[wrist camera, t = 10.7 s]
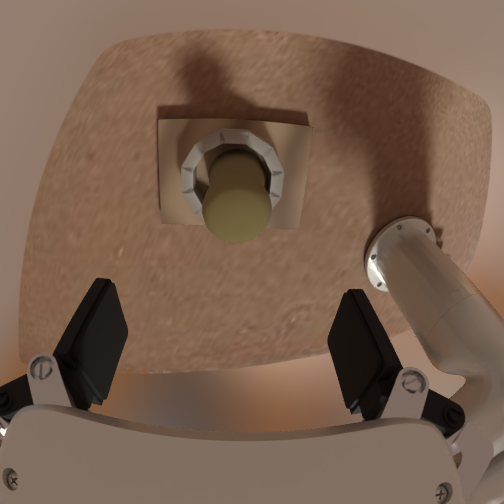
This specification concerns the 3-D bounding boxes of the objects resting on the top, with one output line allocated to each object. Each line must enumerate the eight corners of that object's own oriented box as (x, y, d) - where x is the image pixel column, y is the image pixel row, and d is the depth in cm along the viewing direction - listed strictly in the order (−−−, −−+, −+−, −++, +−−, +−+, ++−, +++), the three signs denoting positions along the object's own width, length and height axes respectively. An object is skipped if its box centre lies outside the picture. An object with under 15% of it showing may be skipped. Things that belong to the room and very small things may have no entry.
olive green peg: (204, 197, 29) (187, 247, 20) (215, 143, 26) (201, 167, 17) (257, 207, 30) (267, 262, 21) (272, 156, 27) (291, 187, 18)
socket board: (309, 125, 27) (320, 129, 23) (296, 224, 33) (303, 239, 30) (162, 118, 26) (151, 121, 22) (164, 218, 32) (156, 233, 28)
